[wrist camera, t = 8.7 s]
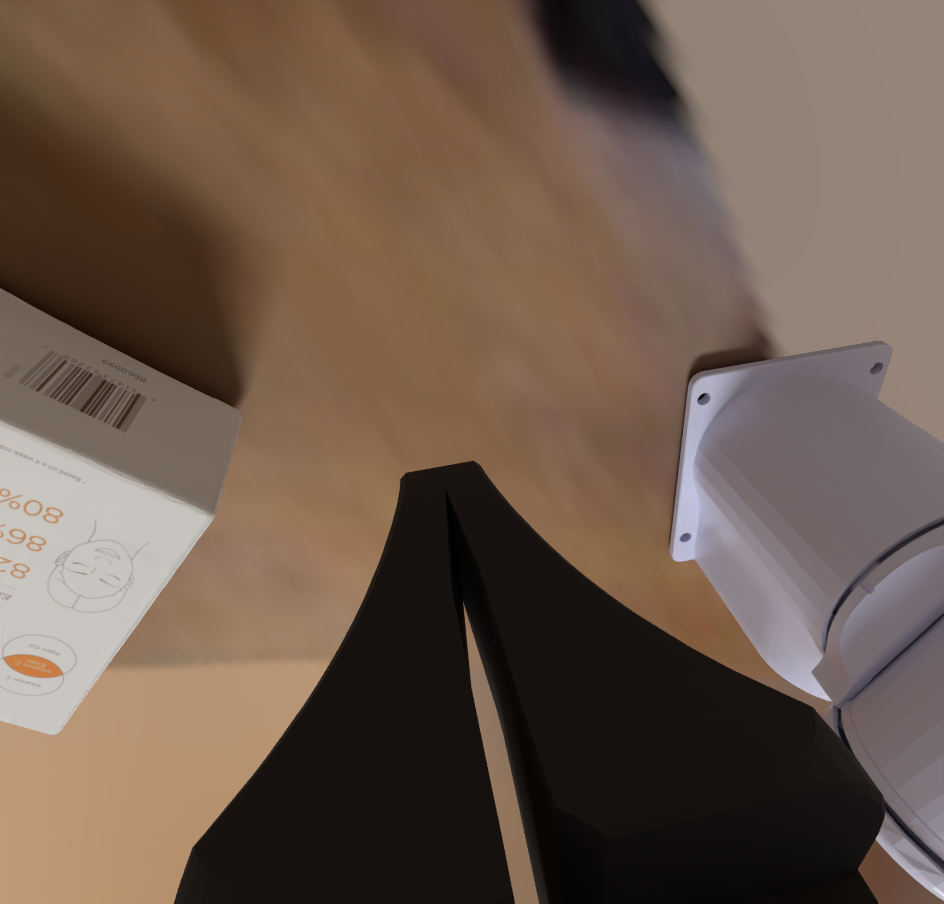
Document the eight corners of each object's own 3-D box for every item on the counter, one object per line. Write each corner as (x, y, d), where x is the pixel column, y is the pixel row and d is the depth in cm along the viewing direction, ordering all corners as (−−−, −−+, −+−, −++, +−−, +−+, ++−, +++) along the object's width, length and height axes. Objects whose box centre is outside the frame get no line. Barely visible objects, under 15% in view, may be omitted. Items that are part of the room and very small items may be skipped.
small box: (-21, 267, 17) (-139, 522, 20) (-163, 350, 12) (-284, 663, 15) (250, 413, 20) (111, 607, 24) (222, 519, 16) (55, 741, 19)
